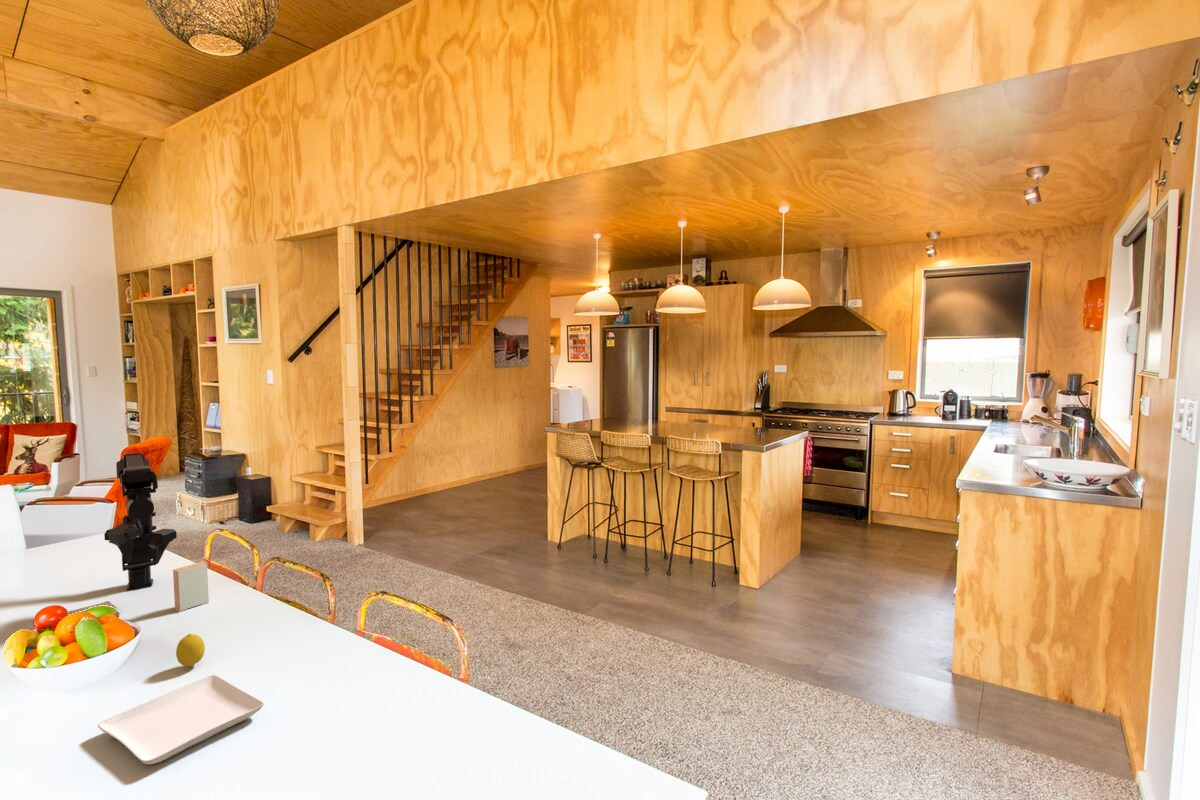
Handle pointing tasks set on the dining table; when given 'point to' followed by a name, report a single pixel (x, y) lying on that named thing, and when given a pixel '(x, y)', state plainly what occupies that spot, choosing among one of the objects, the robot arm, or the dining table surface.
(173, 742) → the salad plate
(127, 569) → the robot arm
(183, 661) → the lemon
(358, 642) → the dining table surface
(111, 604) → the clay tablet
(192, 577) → the tile
